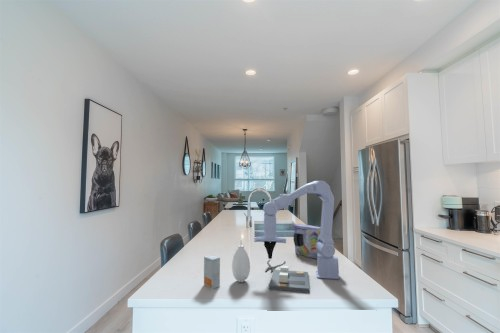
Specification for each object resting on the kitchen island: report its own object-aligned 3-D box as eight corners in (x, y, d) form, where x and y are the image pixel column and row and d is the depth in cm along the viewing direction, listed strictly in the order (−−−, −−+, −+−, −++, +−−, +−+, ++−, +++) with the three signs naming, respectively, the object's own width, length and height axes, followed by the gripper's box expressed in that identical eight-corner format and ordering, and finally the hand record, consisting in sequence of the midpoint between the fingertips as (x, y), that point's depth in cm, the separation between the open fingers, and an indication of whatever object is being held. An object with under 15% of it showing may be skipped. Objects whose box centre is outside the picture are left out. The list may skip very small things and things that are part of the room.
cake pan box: (293, 253, 157) (292, 223, 158) (298, 251, 160) (298, 222, 161) (318, 260, 142) (318, 228, 143) (324, 258, 145) (323, 227, 146)
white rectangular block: (288, 280, 109) (288, 272, 110) (287, 282, 106) (287, 275, 107) (279, 279, 110) (279, 272, 110) (279, 282, 107) (279, 274, 107)
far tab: (288, 272, 118) (288, 266, 118) (288, 274, 115) (288, 268, 115) (280, 272, 119) (280, 265, 119) (280, 274, 116) (280, 267, 116)
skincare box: (203, 285, 109) (203, 256, 109) (211, 282, 112) (211, 254, 112) (211, 289, 104) (212, 259, 105) (220, 286, 107) (220, 257, 108)
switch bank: (307, 275, 120) (307, 271, 120) (309, 292, 101) (309, 288, 101) (273, 272, 123) (273, 269, 123) (268, 289, 104) (268, 285, 104)
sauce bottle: (234, 285, 108) (234, 242, 109) (230, 279, 115) (230, 238, 116) (252, 283, 110) (252, 241, 111) (247, 277, 118) (247, 237, 119)
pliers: (285, 259, 142) (285, 272, 122) (285, 261, 142) (285, 274, 122) (267, 259, 143) (264, 271, 124) (267, 260, 143) (264, 273, 123)
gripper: (253, 229, 116) (253, 259, 116) (285, 230, 114) (285, 261, 113) (255, 226, 123) (255, 255, 123) (286, 227, 121) (286, 257, 120)
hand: (270, 258), depth 118 cm, fingers closed
